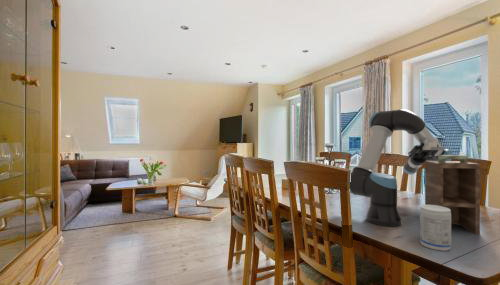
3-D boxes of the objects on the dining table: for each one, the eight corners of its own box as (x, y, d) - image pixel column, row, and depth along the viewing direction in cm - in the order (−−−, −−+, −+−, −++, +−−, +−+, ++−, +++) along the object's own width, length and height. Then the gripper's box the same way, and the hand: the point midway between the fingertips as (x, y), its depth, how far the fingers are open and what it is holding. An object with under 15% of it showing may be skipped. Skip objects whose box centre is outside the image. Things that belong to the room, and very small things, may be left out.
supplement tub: (422, 239, 101) (422, 203, 101) (452, 245, 94) (452, 207, 94) (417, 246, 94) (417, 207, 94) (450, 254, 87) (450, 212, 87)
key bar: (437, 150, 121) (437, 141, 121) (422, 149, 138) (422, 142, 138) (447, 150, 120) (447, 141, 120) (431, 149, 137) (430, 142, 137)
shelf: (439, 231, 109) (438, 155, 109) (425, 221, 123) (425, 154, 123) (479, 234, 105) (479, 156, 105) (460, 223, 119) (460, 154, 119)
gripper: (434, 165, 147) (453, 147, 127) (402, 165, 151) (415, 147, 131) (431, 154, 150) (449, 134, 131) (400, 154, 155) (412, 135, 135)
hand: (432, 140), depth 131 cm, fingers closed on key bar, 4 cm apart
